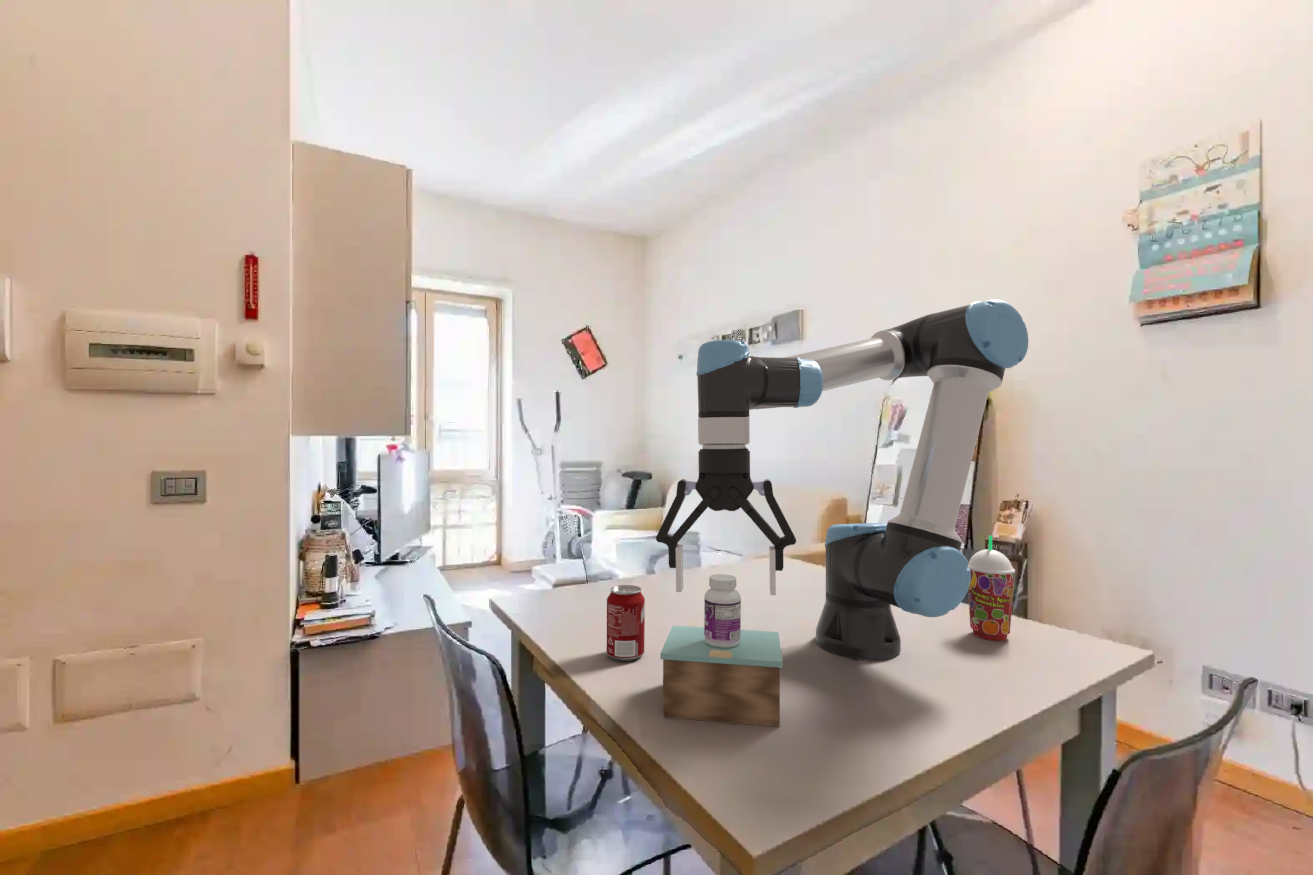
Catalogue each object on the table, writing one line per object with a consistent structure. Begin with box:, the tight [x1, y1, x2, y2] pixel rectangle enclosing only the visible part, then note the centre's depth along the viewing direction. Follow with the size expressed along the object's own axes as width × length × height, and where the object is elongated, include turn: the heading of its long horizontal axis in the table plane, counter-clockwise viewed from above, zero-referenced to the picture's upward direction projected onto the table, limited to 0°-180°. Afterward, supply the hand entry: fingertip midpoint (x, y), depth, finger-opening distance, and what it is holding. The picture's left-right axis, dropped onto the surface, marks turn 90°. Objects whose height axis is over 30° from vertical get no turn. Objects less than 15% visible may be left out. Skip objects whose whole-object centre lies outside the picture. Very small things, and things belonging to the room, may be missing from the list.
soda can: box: [605, 584, 646, 662], centre depth 103 cm, size 7×7×12 cm
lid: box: [659, 625, 784, 669], centre depth 85 cm, size 17×13×1 cm
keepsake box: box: [662, 659, 781, 728], centre depth 85 cm, size 16×12×8 cm
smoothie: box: [967, 535, 1016, 642], centre depth 114 cm, size 8×8×20 cm
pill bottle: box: [703, 573, 742, 648], centre depth 84 cm, size 5×5×10 cm
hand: (725, 591), depth 85 cm, fingers open, 13 cm apart
